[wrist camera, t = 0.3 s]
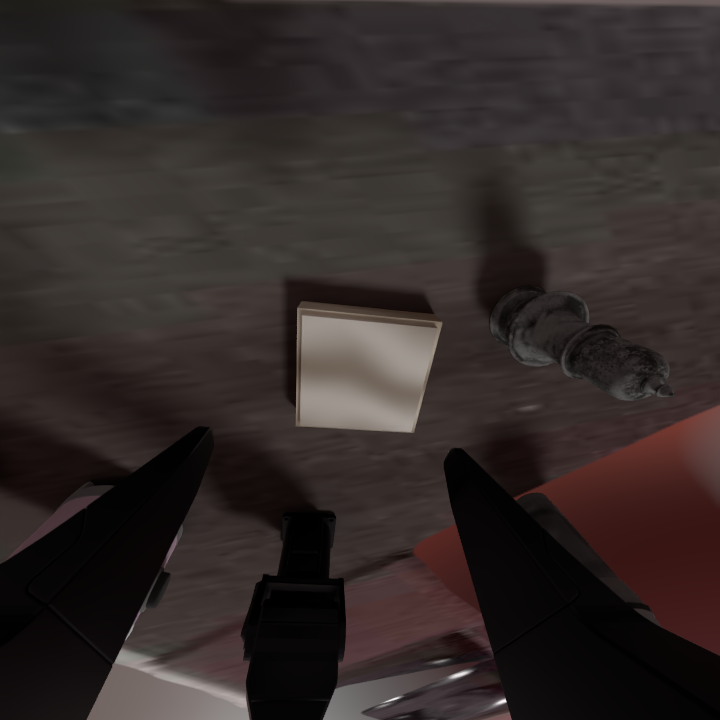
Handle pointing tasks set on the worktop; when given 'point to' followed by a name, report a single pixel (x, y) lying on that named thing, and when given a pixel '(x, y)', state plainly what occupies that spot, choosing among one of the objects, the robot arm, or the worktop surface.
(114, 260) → the worktop surface
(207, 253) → the worktop surface
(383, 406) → the wooden tray
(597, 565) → the beverage cup
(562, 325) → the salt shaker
